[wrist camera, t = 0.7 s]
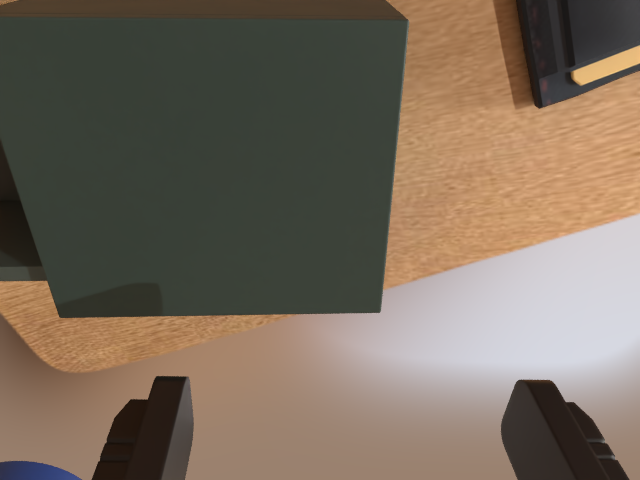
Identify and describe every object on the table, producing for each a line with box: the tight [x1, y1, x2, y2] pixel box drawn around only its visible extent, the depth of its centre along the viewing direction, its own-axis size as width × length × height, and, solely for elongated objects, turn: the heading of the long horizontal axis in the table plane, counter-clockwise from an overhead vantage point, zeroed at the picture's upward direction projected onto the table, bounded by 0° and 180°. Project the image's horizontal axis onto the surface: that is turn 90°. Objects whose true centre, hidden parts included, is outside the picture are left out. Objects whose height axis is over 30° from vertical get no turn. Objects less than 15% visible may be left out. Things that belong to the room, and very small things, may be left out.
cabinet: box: [0, 0, 409, 318], centre depth 24 cm, size 15×13×10 cm
